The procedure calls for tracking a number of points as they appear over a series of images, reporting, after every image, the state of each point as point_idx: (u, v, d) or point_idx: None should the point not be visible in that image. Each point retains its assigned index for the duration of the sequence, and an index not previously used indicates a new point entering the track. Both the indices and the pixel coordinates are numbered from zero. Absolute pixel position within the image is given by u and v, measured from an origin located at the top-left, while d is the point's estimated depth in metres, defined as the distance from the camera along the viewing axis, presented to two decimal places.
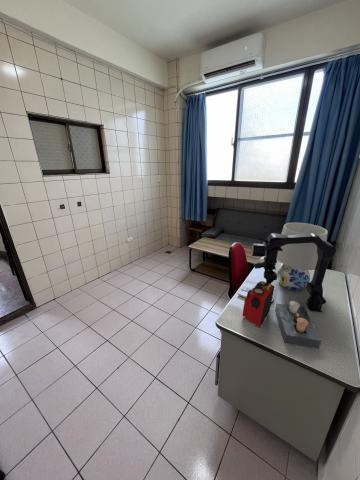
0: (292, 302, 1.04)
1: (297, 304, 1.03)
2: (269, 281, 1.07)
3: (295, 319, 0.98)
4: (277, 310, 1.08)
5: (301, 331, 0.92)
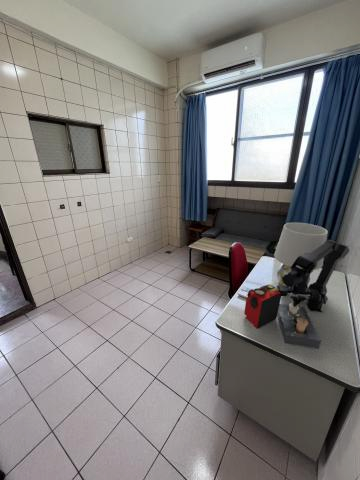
0: (291, 304, 1.05)
1: (296, 306, 1.03)
2: (293, 300, 1.02)
3: (295, 319, 0.98)
4: None
5: (301, 331, 0.92)
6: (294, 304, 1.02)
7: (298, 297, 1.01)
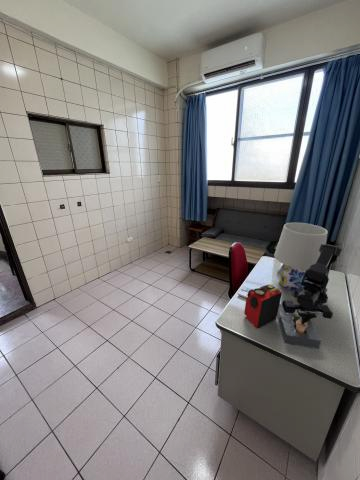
0: None
1: None
2: (300, 317, 0.91)
3: (295, 319, 0.98)
4: None
5: None
6: (302, 321, 0.91)
7: (307, 314, 0.90)
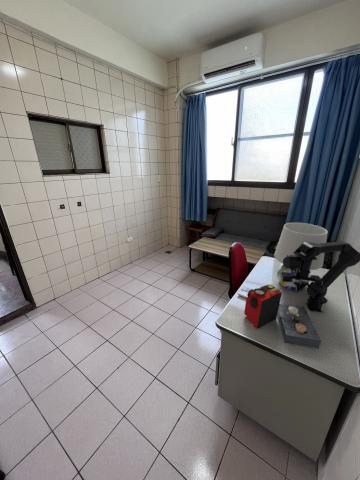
0: (291, 307, 1.06)
1: (296, 309, 1.04)
2: (296, 286, 1.07)
3: (295, 319, 0.98)
4: None
5: None
6: (297, 290, 1.07)
7: (301, 283, 1.06)
